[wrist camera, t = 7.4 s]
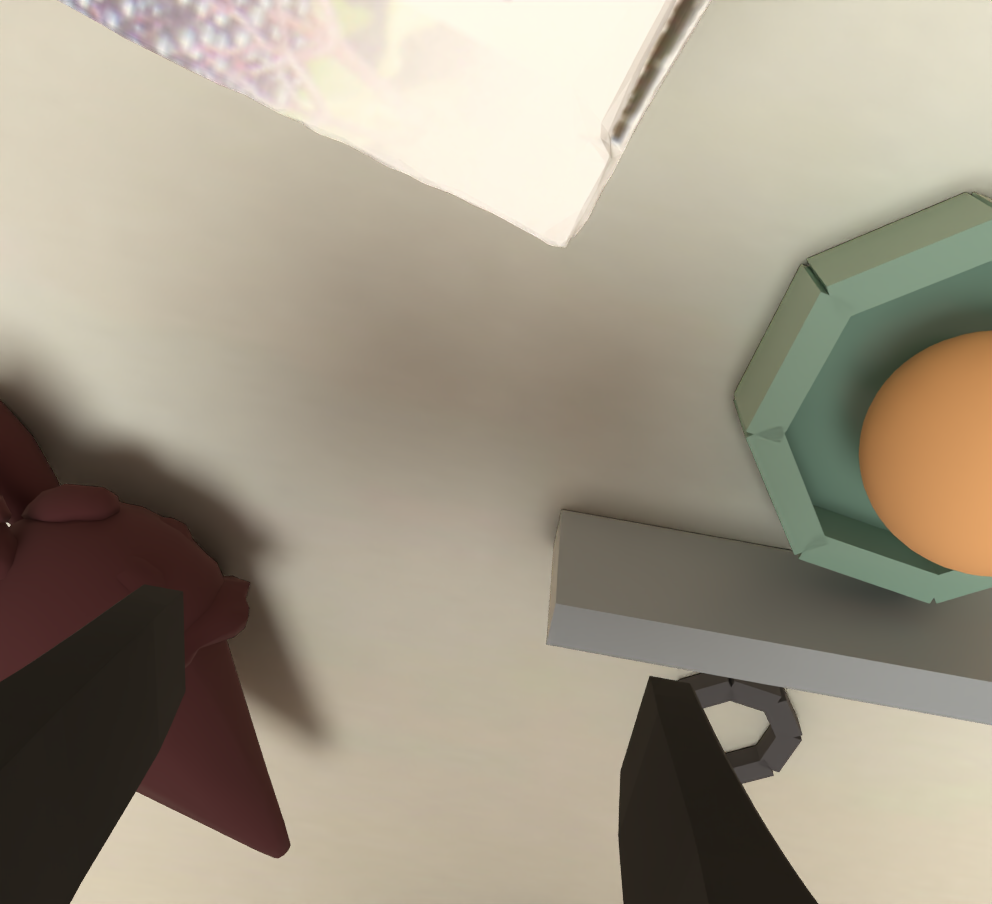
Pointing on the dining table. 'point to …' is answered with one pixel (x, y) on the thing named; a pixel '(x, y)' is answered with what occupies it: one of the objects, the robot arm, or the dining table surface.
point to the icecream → (104, 582)
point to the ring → (761, 697)
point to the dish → (861, 382)
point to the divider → (765, 618)
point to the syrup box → (441, 83)
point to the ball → (935, 453)
